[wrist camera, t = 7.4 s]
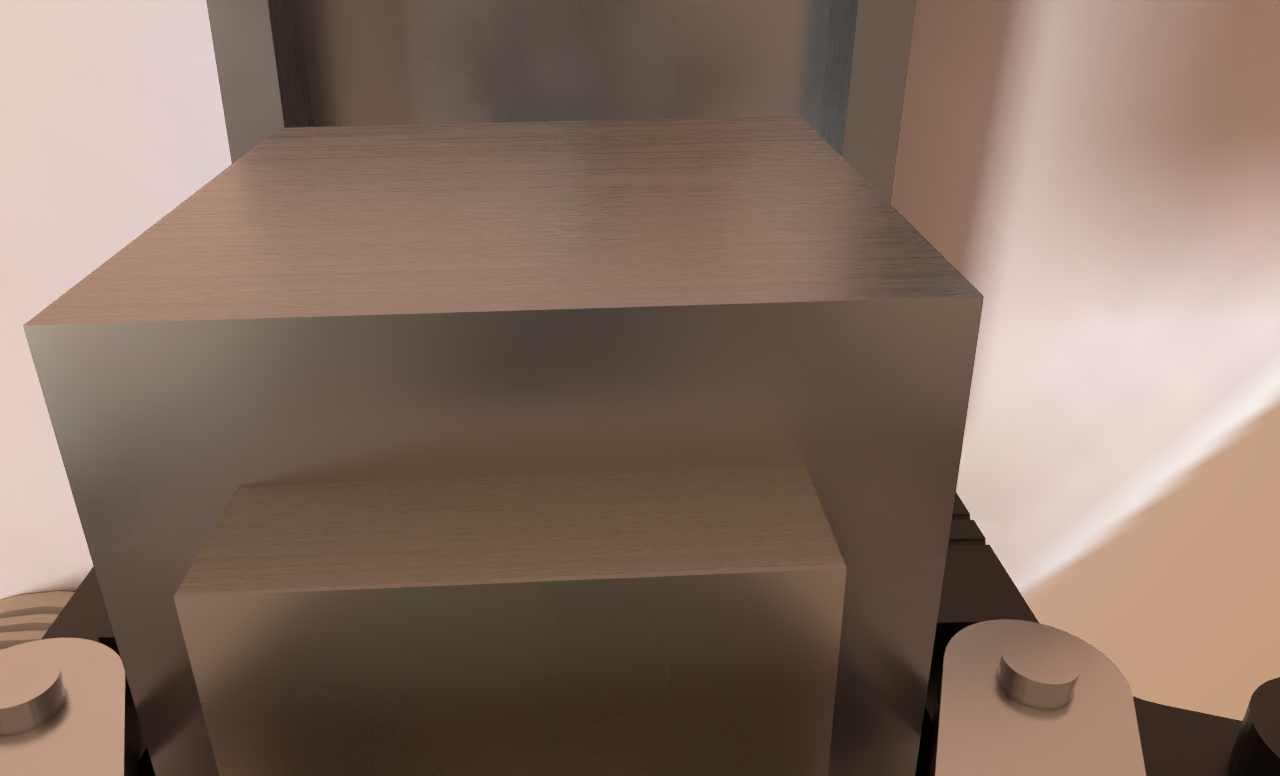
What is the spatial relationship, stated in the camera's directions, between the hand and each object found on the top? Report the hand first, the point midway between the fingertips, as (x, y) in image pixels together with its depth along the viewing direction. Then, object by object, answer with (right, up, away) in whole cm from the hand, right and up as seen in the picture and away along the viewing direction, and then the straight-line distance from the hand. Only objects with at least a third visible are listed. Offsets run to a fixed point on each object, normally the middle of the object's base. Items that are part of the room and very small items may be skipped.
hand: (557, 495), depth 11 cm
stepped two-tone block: (0, 0, 0) cm, 1 cm away
